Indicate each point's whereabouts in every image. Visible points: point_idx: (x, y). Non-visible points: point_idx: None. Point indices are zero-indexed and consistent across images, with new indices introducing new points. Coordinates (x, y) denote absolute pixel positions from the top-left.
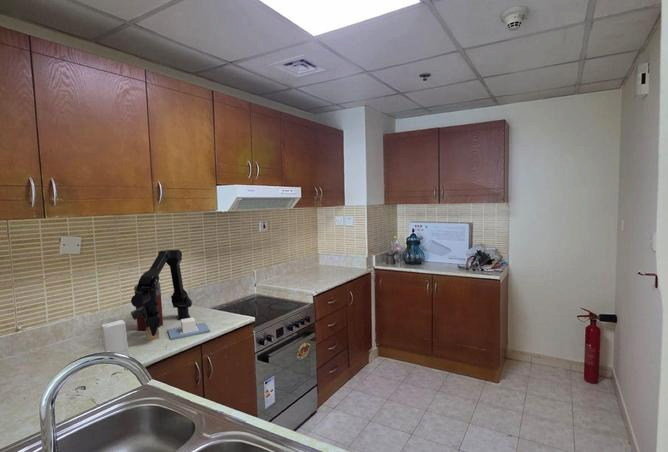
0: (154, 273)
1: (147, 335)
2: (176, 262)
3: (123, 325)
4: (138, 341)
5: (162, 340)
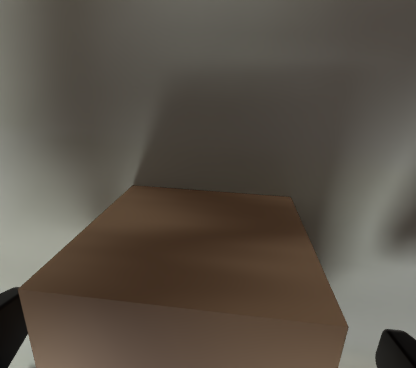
0: None
1: (91, 227)
2: None
3: None
4: (195, 59)
5: None
